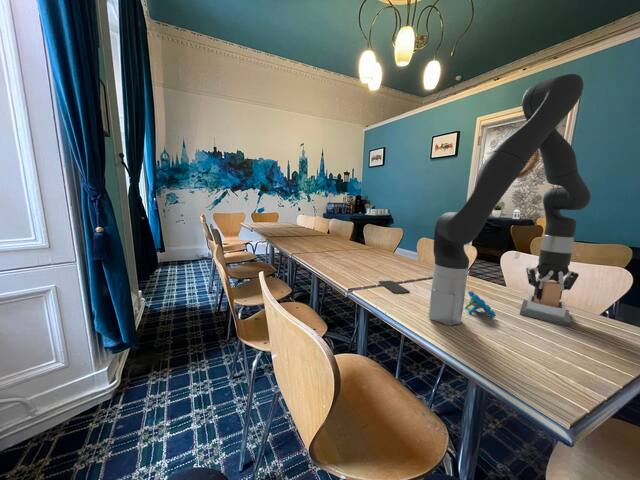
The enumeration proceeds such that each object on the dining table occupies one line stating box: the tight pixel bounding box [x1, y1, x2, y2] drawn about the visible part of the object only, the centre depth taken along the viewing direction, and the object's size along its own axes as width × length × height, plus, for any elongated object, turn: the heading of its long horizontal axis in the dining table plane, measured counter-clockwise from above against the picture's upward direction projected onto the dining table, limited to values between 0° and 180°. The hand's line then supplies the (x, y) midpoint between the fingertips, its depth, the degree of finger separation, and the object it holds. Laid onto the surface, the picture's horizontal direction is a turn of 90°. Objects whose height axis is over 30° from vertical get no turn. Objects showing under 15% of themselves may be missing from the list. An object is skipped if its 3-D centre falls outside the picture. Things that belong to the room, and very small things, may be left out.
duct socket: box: [519, 294, 571, 328], centre depth 85 cm, size 13×12×4 cm
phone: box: [377, 280, 411, 295], centre depth 107 cm, size 7×1×15 cm
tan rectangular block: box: [534, 280, 562, 307], centre depth 84 cm, size 4×4×8 cm
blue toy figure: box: [464, 290, 496, 318], centre depth 83 cm, size 11×6×10 cm
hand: (546, 299), depth 84 cm, fingers closed on tan rectangular block, 4 cm apart
